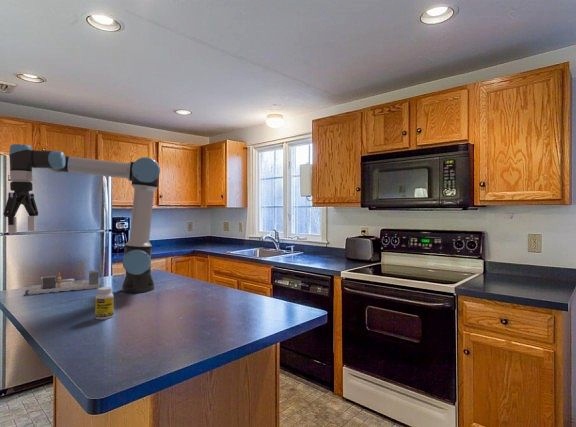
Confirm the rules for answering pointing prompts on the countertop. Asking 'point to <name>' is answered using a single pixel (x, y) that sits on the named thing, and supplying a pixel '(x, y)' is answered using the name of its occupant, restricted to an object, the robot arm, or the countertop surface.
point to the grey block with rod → (51, 281)
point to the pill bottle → (104, 303)
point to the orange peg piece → (59, 278)
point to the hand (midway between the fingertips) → (22, 232)
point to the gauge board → (69, 285)
